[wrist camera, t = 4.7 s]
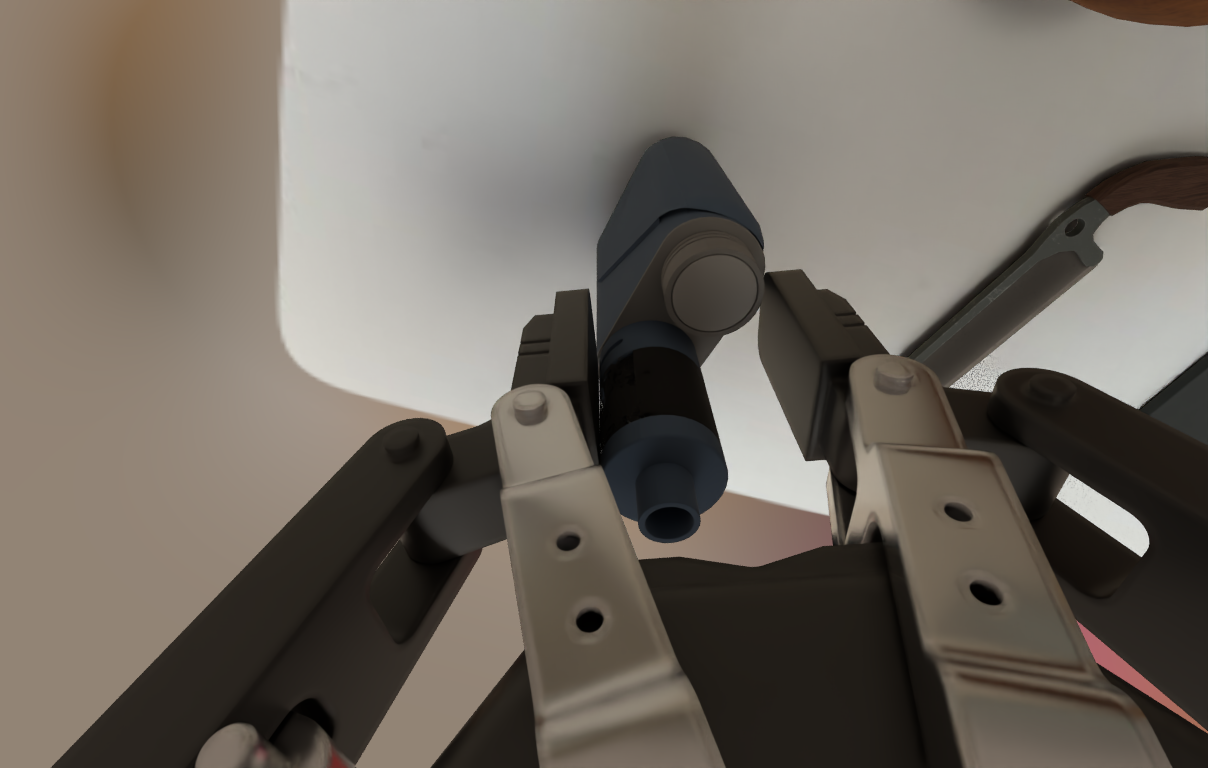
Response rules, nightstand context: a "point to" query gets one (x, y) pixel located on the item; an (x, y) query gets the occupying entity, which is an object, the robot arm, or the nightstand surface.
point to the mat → (1185, 403)
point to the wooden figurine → (1153, 11)
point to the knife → (1057, 263)
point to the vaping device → (670, 332)
